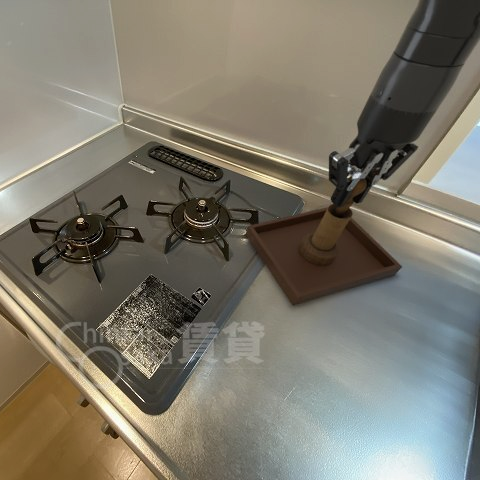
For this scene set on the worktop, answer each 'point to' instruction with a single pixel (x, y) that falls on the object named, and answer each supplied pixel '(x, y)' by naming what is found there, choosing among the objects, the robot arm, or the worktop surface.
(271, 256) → the tray
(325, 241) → the mortar and pestle
